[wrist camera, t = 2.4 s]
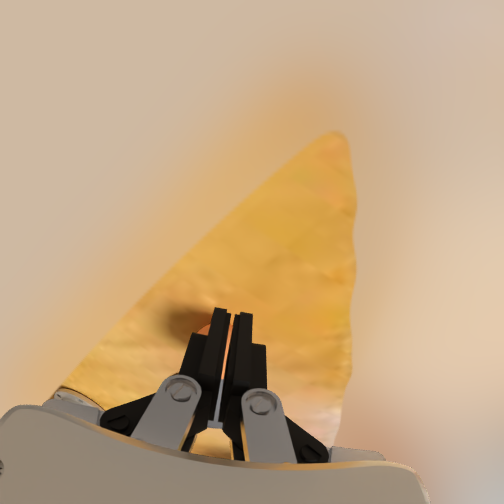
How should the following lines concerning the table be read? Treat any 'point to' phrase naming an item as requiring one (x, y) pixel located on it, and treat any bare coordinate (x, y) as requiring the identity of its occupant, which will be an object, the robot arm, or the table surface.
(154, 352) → the table surface
